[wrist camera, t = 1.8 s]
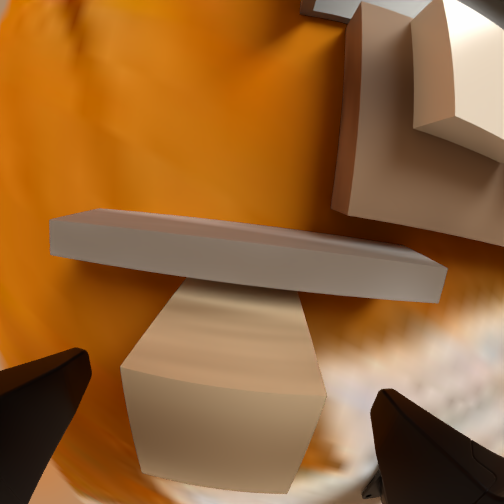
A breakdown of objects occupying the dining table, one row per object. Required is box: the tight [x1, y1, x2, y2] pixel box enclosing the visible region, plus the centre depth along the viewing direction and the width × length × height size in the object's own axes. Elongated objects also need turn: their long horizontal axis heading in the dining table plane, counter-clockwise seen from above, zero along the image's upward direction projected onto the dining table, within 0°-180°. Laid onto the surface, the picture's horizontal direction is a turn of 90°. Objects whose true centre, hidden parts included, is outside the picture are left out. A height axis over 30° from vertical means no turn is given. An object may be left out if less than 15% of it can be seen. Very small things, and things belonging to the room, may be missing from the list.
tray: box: [300, 0, 504, 30], centre depth 6 cm, size 8×18×4 cm, turn 83°
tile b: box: [410, 0, 504, 163], centre depth 6 cm, size 4×4×2 cm
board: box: [330, 1, 504, 247], centre depth 9 cm, size 8×14×2 cm, turn 83°
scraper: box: [49, 209, 448, 494], centre depth 9 cm, size 6×13×7 cm, turn 83°
